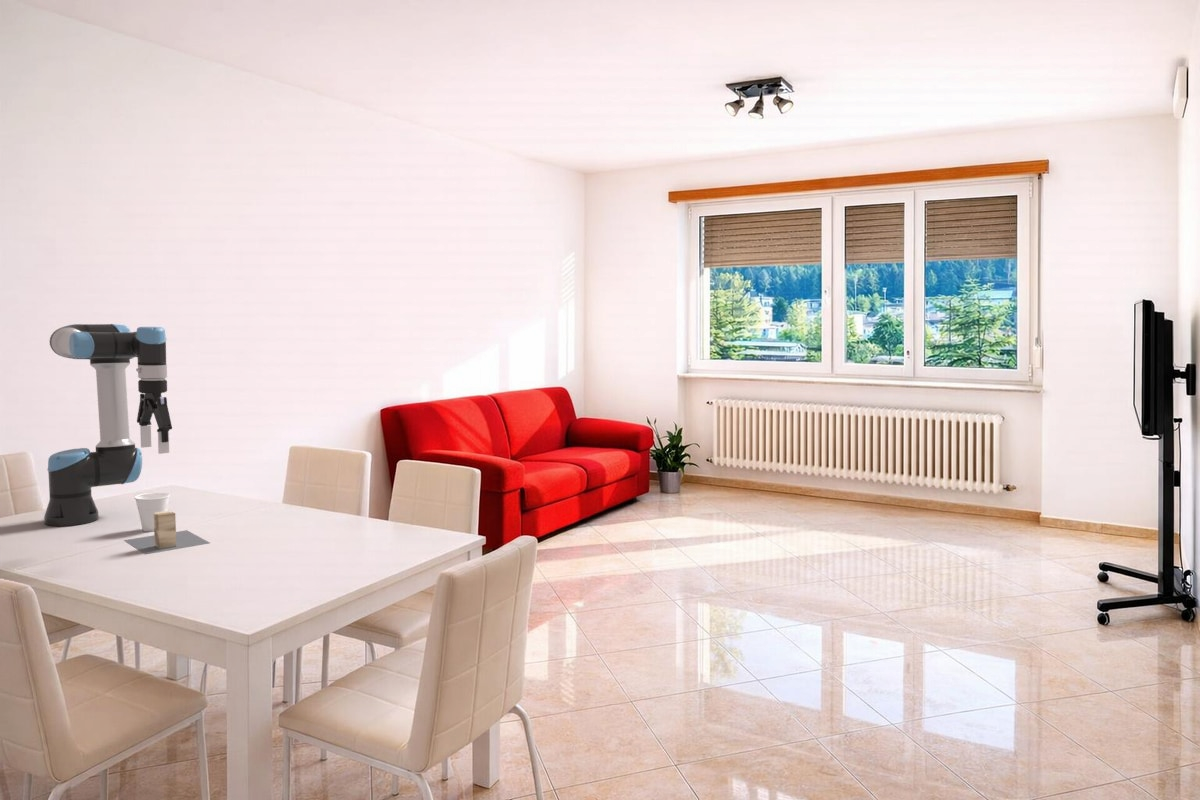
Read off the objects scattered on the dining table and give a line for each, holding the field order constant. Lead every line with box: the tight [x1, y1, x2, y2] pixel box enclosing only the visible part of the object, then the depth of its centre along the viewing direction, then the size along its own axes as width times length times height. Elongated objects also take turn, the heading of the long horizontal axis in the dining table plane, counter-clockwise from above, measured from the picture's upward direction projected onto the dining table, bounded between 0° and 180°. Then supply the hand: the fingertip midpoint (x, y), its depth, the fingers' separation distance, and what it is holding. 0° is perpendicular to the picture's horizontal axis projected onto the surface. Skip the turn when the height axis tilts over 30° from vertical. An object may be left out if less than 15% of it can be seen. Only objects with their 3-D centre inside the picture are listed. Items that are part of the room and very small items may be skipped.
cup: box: [134, 492, 171, 533], centre depth 265 cm, size 10×10×11 cm
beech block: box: [153, 510, 177, 549], centre depth 245 cm, size 4×4×10 cm
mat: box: [123, 529, 211, 555], centre depth 250 cm, size 20×18×1 cm
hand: (154, 450), depth 248 cm, fingers open, 13 cm apart
